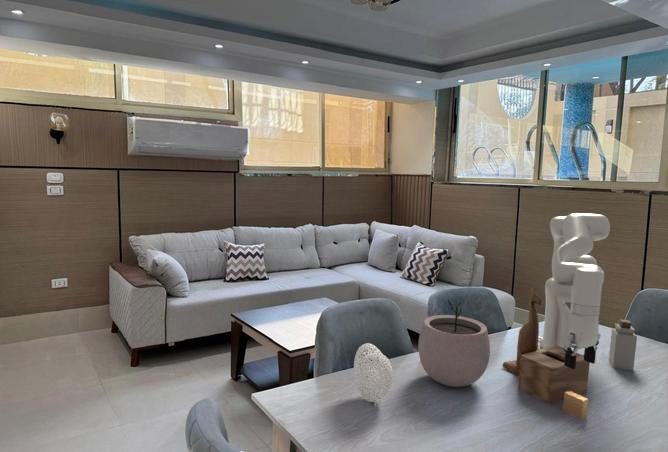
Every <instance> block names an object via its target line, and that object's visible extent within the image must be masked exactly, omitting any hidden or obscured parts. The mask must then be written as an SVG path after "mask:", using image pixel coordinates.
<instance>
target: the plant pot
mask: <svg viewBox="0 0 668 452" xmlns="http://www.w3.org/2000/svg"><path fill="white" fill-rule="evenodd" d="M461 300H462V299H461ZM461 300H460V301H459V302H458V304H457V305H455V309H454V307H452V303H451V302H450V301H449V299H447V302H448V304H449V306H450V309H451V311H453V312H454V313H455V314H453V315H452V314H438V315H437V314H436V315H432V316H428V317H426V318H425V319H424V321H423V323H422V326H421V329H420V333H419V337H418V345H417V347H418V348H417V349H418V356H419V359H420V364H421V366H422V367H423V370H424V371H425V372H426V374H427V375H428V376H429V377H430V378H431V379H433V380H434V381H436V382H437V383H438V384H442V385H443V386H447V387H451V388H453V387H455V388H461V387H466V386H470V385H472V384H473V383H475V382H477V381H478V380H480V379H481V377H482V376H483V375H484V373H485V372H486V370H487V368H488V365H489V361H490V354H491V345H490V336H489V332H488V328H487V326H486V324H484V323H483V322H481V321H479V320H476V319H474V318H470V317H465V316H461V315H460V314H461V312H462V307H460V309H459V306H461V304H462V302H461ZM458 310H459V312H458Z"/></svg>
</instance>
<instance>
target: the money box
mask: <svg viewBox="0 0 668 452" xmlns="http://www.w3.org/2000/svg"><path fill="white" fill-rule="evenodd" d="M575 356H577V358H576V368H575V369H571V368H569V367H566V366H565V365H564V362H565V353H564V349H563V348H562V347H560V346H554V347H550V348H546V349H542V350H538V349H537V351H535V352H531V353H527V354H523V355H520V367H519V376H518V381H517V389H518V390H519V391H521V392H523V393H525V394H527V395H529V396H531V397H533V398H535V399H537V400H538V401H541V402H543V403H545V404H546V405H548V406H551V405H554V404H556V403H560V402H562V401H564V393H565V392H567V391H571V392H574V393H576V394H578V395H582V394H584V393H587V392H588V383H589V375H590V373H589V372H590V364H591V363H590V362H587V361H584V354H580V353H578V352H577V353H576V355H575Z"/></svg>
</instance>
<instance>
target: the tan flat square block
mask: <svg viewBox="0 0 668 452" xmlns="http://www.w3.org/2000/svg"><path fill="white" fill-rule="evenodd" d="M588 406H589V399H588V398H587V397H584V396H583V395H581V394H579V395H578V394H576V393H574V392H571V391H567V392H565V393H564V400H563V404H562V411H563V412H565V413H567V414H569V415H571V416H572V417H575V418H577V419H579V420H581V421H582V420H585V419H587V416H588Z"/></svg>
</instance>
